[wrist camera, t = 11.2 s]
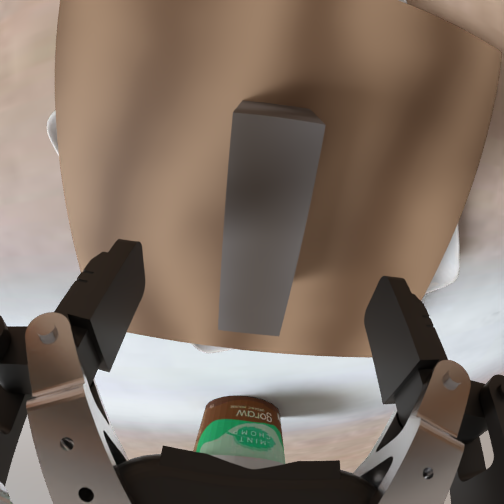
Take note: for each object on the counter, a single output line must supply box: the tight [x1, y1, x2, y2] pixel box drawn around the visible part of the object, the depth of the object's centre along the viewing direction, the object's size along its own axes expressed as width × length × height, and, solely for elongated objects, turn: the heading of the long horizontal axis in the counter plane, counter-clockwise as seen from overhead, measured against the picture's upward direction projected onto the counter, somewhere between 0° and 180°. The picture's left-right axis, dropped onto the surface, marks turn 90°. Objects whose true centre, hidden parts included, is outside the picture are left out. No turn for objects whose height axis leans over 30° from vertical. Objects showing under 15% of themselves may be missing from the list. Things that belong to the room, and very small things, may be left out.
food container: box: [193, 396, 285, 469], centre depth 29 cm, size 12×6×10 cm, turn 81°
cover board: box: [55, 0, 502, 357], centre depth 14 cm, size 23×23×5 cm
